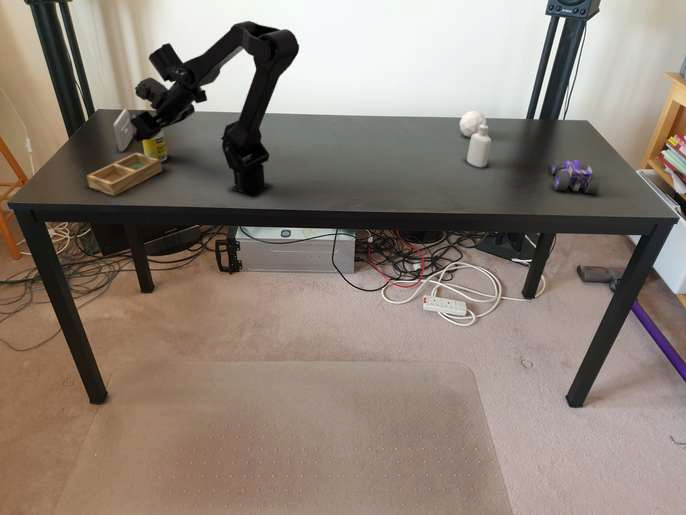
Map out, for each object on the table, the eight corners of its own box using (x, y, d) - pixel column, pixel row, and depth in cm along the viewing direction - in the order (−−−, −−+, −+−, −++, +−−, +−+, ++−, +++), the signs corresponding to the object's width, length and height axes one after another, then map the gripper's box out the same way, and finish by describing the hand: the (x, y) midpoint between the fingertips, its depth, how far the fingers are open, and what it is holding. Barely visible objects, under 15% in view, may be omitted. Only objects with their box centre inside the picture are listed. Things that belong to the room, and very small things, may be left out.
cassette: (124, 152, 140) (118, 124, 136) (117, 152, 140) (111, 124, 135) (135, 134, 150) (129, 108, 145) (128, 134, 150) (122, 107, 145)
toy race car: (581, 170, 142) (589, 148, 138) (595, 197, 130) (604, 173, 126) (545, 167, 143) (552, 144, 139) (556, 193, 131) (563, 169, 127)
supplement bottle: (161, 164, 135) (155, 128, 129) (141, 161, 136) (134, 125, 130) (171, 155, 139) (165, 120, 134) (152, 153, 140) (145, 117, 134)
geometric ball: (462, 144, 160) (450, 120, 159) (483, 132, 162) (472, 108, 160) (473, 141, 153) (461, 116, 152) (495, 128, 154) (484, 103, 153)
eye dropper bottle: (480, 159, 146) (489, 117, 139) (487, 168, 141) (496, 125, 134) (465, 159, 145) (473, 117, 138) (471, 168, 141) (480, 125, 134)
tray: (162, 170, 132) (160, 159, 130) (114, 196, 121) (111, 184, 119) (138, 163, 135) (136, 152, 133) (89, 187, 124) (86, 175, 122)
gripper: (178, 59, 130) (148, 96, 139) (128, 80, 116) (98, 120, 125) (209, 96, 133) (178, 130, 142) (164, 121, 118) (132, 157, 127)
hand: (148, 133), depth 134 cm, fingers open, 9 cm apart
